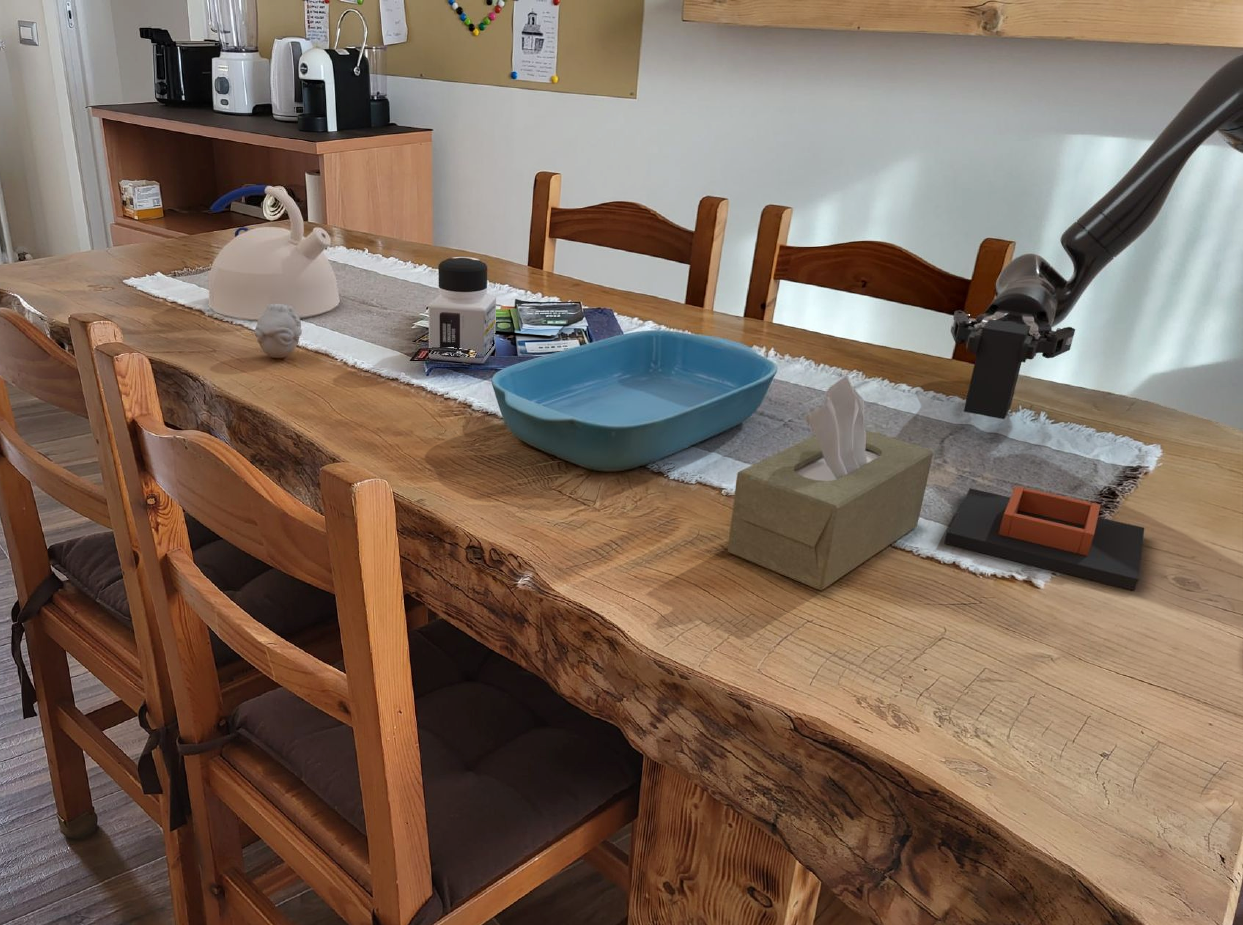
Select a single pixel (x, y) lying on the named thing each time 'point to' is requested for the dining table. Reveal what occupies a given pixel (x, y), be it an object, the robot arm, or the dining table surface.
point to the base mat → (1049, 535)
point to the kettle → (272, 266)
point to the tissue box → (828, 496)
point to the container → (462, 310)
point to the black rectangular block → (996, 369)
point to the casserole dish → (632, 396)
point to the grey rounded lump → (278, 330)
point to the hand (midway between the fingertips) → (998, 349)
